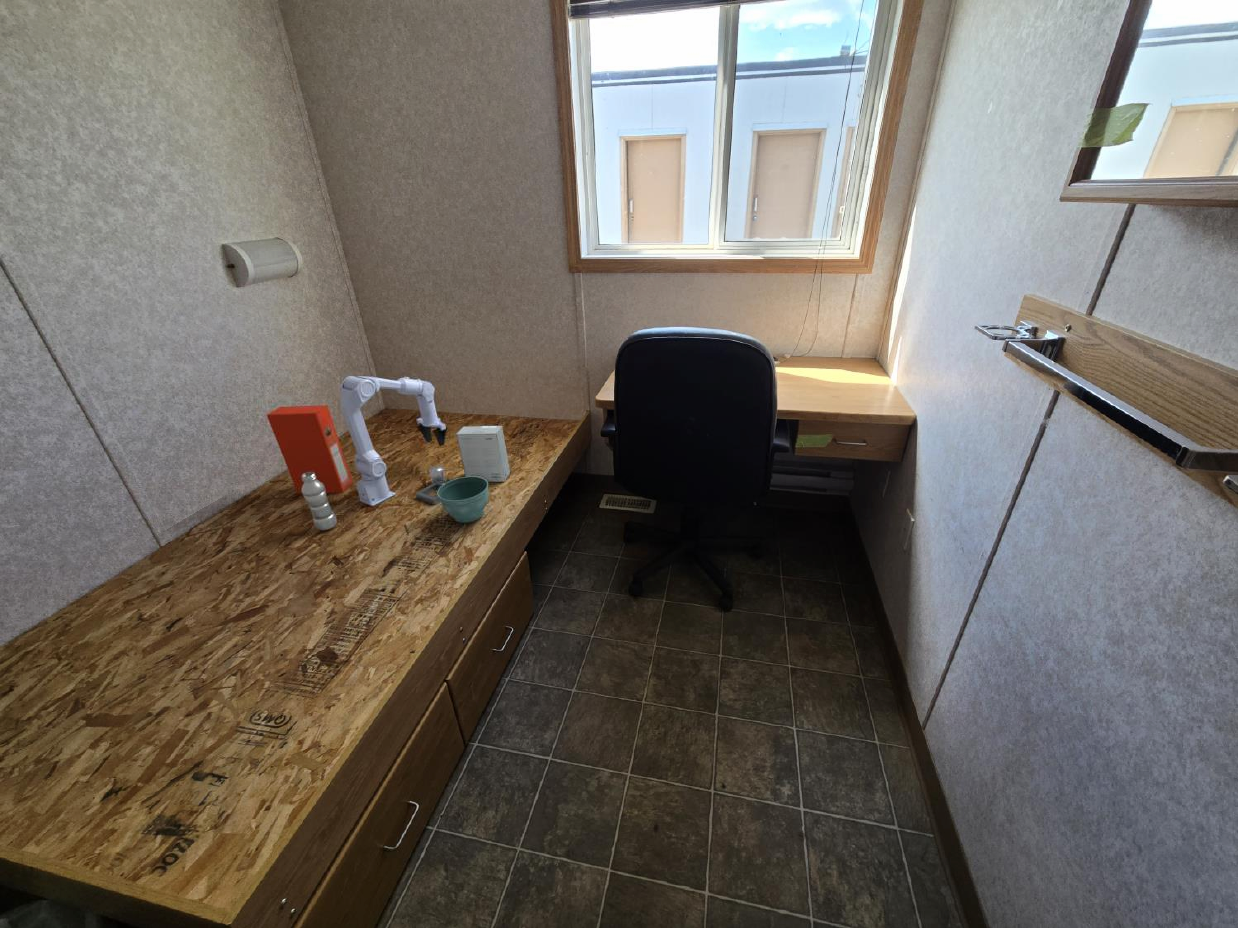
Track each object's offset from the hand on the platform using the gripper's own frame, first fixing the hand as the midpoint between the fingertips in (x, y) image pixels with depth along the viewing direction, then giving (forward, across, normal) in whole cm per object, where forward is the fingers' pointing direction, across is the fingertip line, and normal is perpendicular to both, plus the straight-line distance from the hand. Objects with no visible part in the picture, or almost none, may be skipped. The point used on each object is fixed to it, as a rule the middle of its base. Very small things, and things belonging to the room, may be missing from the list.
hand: (435, 443), depth 199 cm
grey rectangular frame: (+10, -18, +17) cm, 27 cm away
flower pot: (+10, -39, +21) cm, 45 cm away
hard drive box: (+10, -25, -2) cm, 27 cm away
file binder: (+10, +25, +34) cm, 43 cm away
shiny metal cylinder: (+10, -11, +10) cm, 18 cm away
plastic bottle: (+10, -2, +49) cm, 50 cm away
